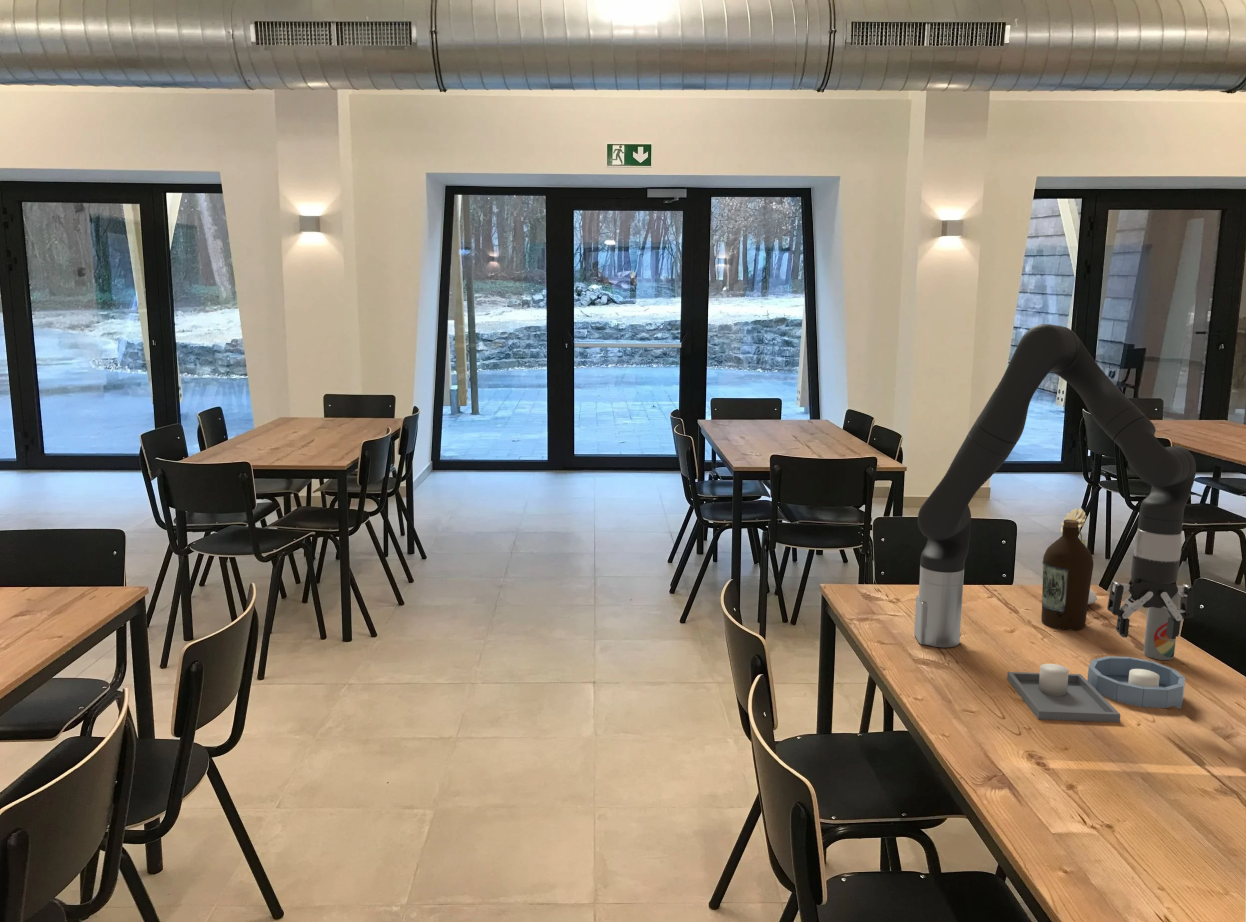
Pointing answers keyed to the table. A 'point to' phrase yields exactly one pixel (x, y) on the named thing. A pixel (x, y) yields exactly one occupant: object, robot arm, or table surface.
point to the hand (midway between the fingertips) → (1146, 637)
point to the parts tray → (1064, 699)
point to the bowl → (1113, 684)
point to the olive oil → (1066, 580)
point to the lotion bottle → (1159, 633)
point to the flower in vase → (1081, 518)
